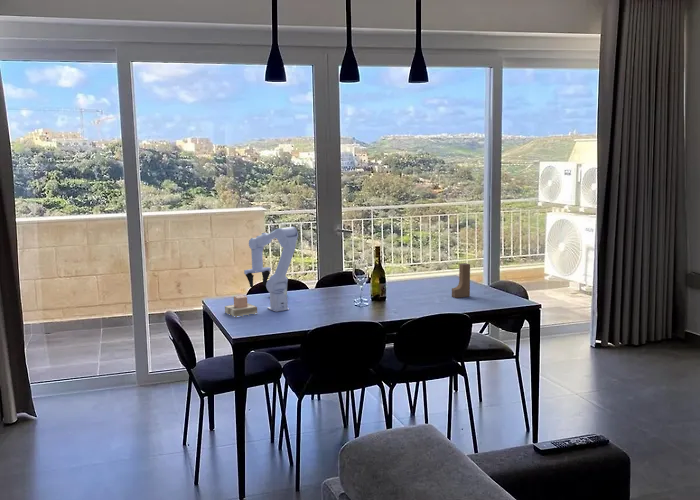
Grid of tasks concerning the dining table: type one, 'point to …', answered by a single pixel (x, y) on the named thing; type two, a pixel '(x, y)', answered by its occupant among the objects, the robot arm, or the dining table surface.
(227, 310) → the birch base block
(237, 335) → the dining table surface
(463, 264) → the wooden block
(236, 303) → the terracotta cube
